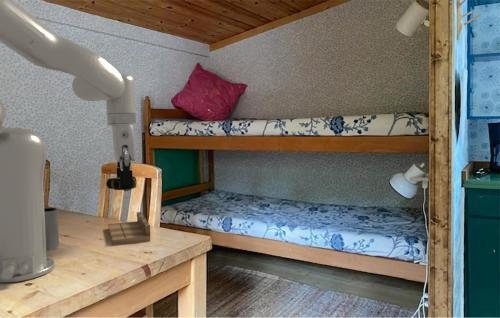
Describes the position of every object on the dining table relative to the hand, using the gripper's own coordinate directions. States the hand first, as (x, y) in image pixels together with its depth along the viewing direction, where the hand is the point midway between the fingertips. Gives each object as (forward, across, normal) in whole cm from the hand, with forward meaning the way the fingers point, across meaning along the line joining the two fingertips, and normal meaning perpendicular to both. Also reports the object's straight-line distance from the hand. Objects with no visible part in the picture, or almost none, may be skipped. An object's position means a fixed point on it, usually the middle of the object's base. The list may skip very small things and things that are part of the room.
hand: (124, 183), depth 104 cm
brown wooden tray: (+17, +6, -1) cm, 18 cm away
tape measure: (+2, 0, +1) cm, 2 cm away
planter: (+16, +2, +20) cm, 26 cm away
